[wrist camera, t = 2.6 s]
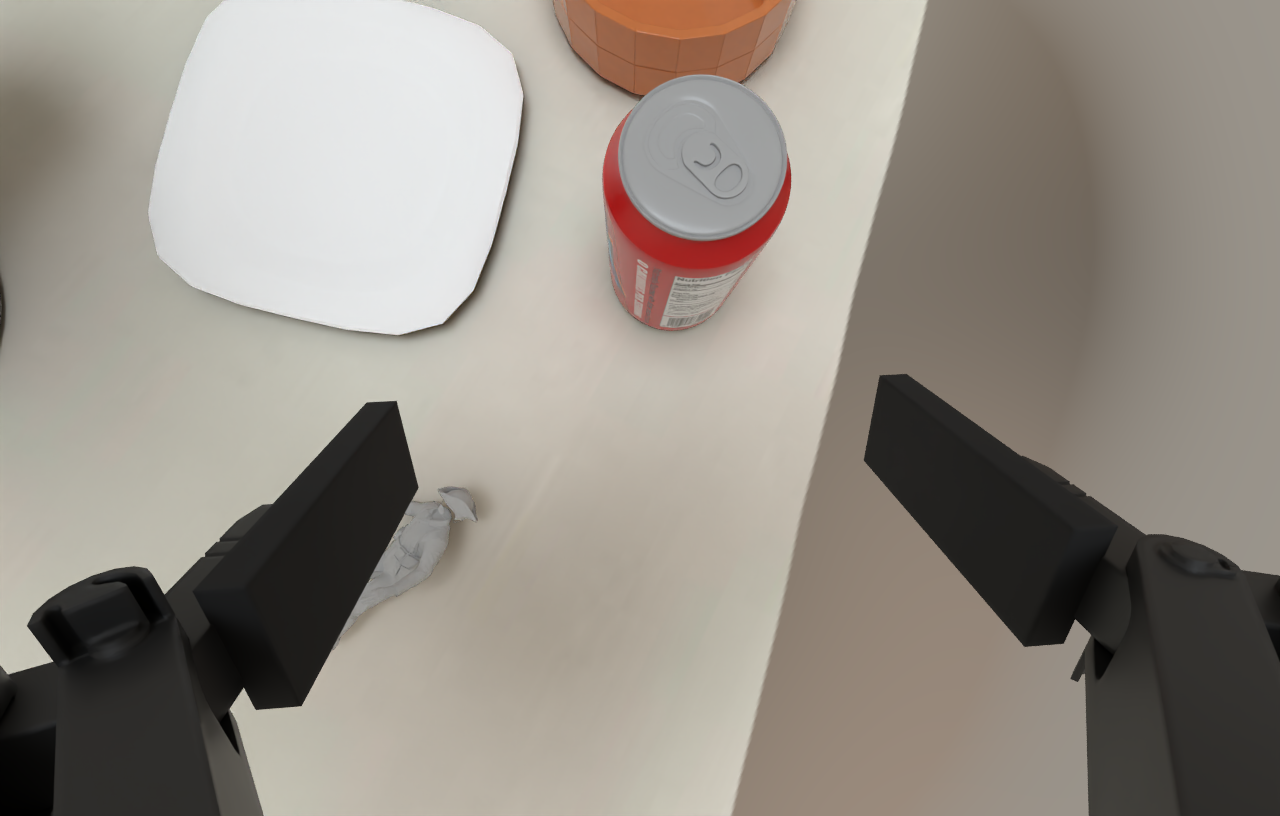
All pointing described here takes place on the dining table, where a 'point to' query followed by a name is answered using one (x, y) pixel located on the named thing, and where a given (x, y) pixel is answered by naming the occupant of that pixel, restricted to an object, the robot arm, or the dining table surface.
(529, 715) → the dining table surface
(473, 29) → the plate
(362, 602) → the soldier figure
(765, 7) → the bowl
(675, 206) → the soda can
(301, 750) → the dining table surface
